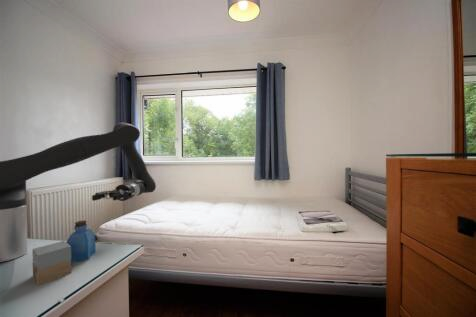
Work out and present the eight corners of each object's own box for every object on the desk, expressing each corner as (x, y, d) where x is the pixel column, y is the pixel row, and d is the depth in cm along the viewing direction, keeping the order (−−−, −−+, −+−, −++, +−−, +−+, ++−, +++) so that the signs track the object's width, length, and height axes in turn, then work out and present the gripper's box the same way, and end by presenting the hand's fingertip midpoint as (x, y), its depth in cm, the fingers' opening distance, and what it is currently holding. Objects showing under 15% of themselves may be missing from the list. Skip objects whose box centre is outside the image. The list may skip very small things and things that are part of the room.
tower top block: (32, 262, 59) (32, 248, 59) (63, 253, 64) (63, 240, 64) (38, 270, 55) (38, 255, 55) (71, 259, 60) (71, 245, 60)
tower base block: (32, 277, 59) (32, 263, 59) (64, 266, 64) (63, 253, 64) (38, 285, 55) (37, 270, 55) (71, 273, 60) (70, 259, 60)
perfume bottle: (88, 259, 68) (87, 223, 68) (65, 263, 66) (64, 225, 66) (95, 251, 74) (94, 218, 74) (75, 254, 72) (74, 220, 72)
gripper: (113, 183, 97) (85, 188, 81) (142, 183, 97) (120, 188, 80) (113, 199, 98) (86, 207, 81) (142, 198, 97) (121, 207, 81)
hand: (103, 198), depth 81 cm, fingers open, 8 cm apart
